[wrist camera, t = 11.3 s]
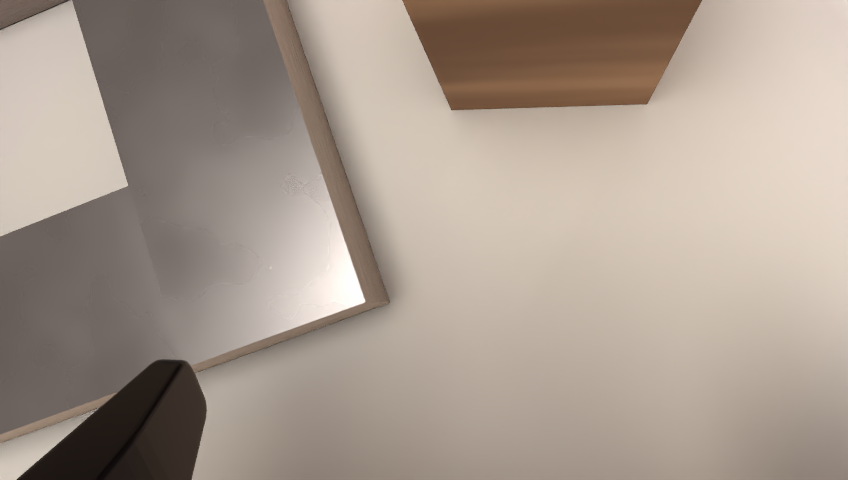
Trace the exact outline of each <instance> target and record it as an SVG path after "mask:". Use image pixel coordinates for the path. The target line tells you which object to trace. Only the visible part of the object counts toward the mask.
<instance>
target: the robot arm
mask: <svg viewBox="0 0 848 480" xmlns="http://www.w3.org/2000/svg"><path fill="white" fill-rule="evenodd" d="M206 412H207V408H206V400H205V397H204V395H203V392H202V390H201V387H200V385H199V383H198V380H197V378H196V375H195V373H194V370H193V368H192V366H191V364H189V363H188V362H187V361H185V360H171V359H160V360H156V361H154V362H153V363H151V364H150V365H149V366H148V367H146V368H145V369H144V370H143V371H142V372H141V373H139V374H138V375H137V376H136V377H135V378H134V379H132V380H131V381H130V382H129V383H128V384H127V385H126V386H124V387H123V388H122V389H121V390H120V391H119V392H117V393H116V394H115V395H114V396H113V397H112V398H110V399H109V400H108V401H107V402H106V403H105V404H103V405H102V406H101V407H100V408H99V409H98V410H97V411H95V412H94V413H93V414H92V415H91V416H90V417H88V418H87V419H86V420H85V421H84V422H83V423H81V424H80V425H79V426H78V427H77V428H76V429H75V430H73V431H72V432H71V433H70V434H69V435H68V436H66V437H65V438H64V439H63V440H62V441H61V442H59V443H58V444H57V445H56V446H55V447H54V448H53V449H51V450H50V451H49V452H48V453H47V454H46V455H44V456H43V457H42V458H41V459H40V460H39V461H37V462H36V463H35V464H34V465H33V466H32V467H31V468H29V469H28V470H27V471H26V472H25V473H24V474H22V475H21V476H20V477H19V478H18V479H17V480H192V475H193V471H194V467H195V462H196V458H197V454H198V449H199V445H200V441H201V437H202V432H203V428H204V424H205V419H206Z"/></svg>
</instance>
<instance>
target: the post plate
mask: <svg viewBox="0 0 848 480" xmlns="http://www.w3.org/2000/svg"><path fill="white" fill-rule="evenodd" d="M65 1H67V0H0V29H1V28H4V27H6V26H8V25H11V24H13V23H15V22H18V21H20V20H22V19H25V18H27V17H29V16H32V15H34V14H36V13H39V12H41V11H43V10H46V9H48V8H50V7H53V6H55V5H57V4H60V3H62V2H65ZM72 1H73V4H74V7H75V11H76V14H77V17H78V21H79V24H80V27H81V31H82V34H83V37H84V40H85V44H86V47H87V50H88V54H89V57H90V60H91V64H92V67H93V70H94V73H95V77H96V80H97V83H98V87H99V90H100V93H101V96H102V100H103V103H104V106H105V110H106V113H107V116H108V120H109V123H110V126H111V129H112V133H113V136H114V139H115V143H116V146H117V149H118V153H119V156H120V159H121V162H122V166H123V169H124V172H125V176H126V179H127V182H128V185H129V186H127V187H125V188H122V189H120V190H117V191H115V192H112V193H110V194H107V195H105V196H102V197H99V198H97V199H94V200H92V201H89V202H87V203H84V204H82V205H79V206H77V207H74V208H72V209H69V210H67V211H64V212H61V213H59V214H56V215H54V216H51V217H49V218H46V219H44V220H41V221H39V222H36V223H34V224H31V225H29V226H26V227H23V228H21V229H18V230H16V231H13V232H11V233H8V234H6V235H3V236H1V237H0V443H2V442H5V441H8V440H11V439H13V438H16V437H19V436H22V435H25V434H27V433H30V432H33V431H36V430H38V429H41V428H44V427H47V426H49V425H52V424H55V423H58V422H60V421H63V420H66V419H69V418H72V417H74V416H77V415H80V414H83V413H85V412H88V411H91V410H94V409H96V408H99V407H101V406H102V405H103V404H105V403H106V402H107V401H108V400H109V399H110V398H112V397H113V396H114V395H115V394H116V393H117V392H119V391H120V390H121V389H122V388H123V387H124V386H126V385H127V384H128V383H129V382H130V381H131V380H132V379H134V378H135V377H136V376H137V375H138V374H139V373H141V372H142V371H143V370H144V369H145V368H146V367H148V366H149V365H150V364H151V363H153V362H154V361H156V360H160V359H171V360H185V361H187V362H188V363H189V364H191V366H192V368H193V370H194V373H196V372H199V371H202V370H204V369H207V368H210V367H213V366H216V365H218V364H221V363H224V362H227V361H229V360H232V359H235V358H238V357H240V356H243V355H246V354H249V353H252V352H254V351H257V350H260V349H263V348H265V347H268V346H271V345H274V344H276V343H279V342H282V341H285V340H288V339H290V338H293V337H296V336H299V335H301V334H304V333H307V332H310V331H312V330H315V329H318V328H321V327H324V326H326V325H329V324H332V323H335V322H337V321H340V320H343V319H346V318H348V317H351V316H354V315H357V314H360V313H362V312H365V311H368V310H371V309H373V308H376V307H379V306H382V305H384V304H387V303H390V302H389V300H388V297H387V294H386V291H385V288H384V285H383V282H382V279H381V276H380V273H379V270H378V267H377V265H376V262H375V259H374V256H373V253H372V250H371V247H370V244H369V241H368V238H367V235H366V232H365V230H364V227H363V224H362V221H361V218H360V215H359V212H358V209H357V206H356V203H355V200H354V197H353V195H352V192H351V189H350V186H349V183H348V180H347V177H346V174H345V171H344V168H343V165H342V162H341V160H340V157H339V154H338V151H337V148H336V145H335V142H334V139H333V136H332V133H331V130H330V127H329V125H328V122H327V119H326V116H325V113H324V110H323V107H322V104H321V101H320V98H319V95H318V92H317V90H316V87H315V84H314V81H313V78H312V75H311V72H310V69H309V66H308V63H307V60H306V57H305V55H304V52H303V49H302V46H301V43H300V40H299V37H298V34H297V31H296V28H295V25H294V22H293V20H292V17H291V14H290V11H289V8H288V5H287V2H286V0H72Z"/></svg>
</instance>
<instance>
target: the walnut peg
mask: <svg viewBox="0 0 848 480" xmlns="http://www.w3.org/2000/svg"><path fill="white" fill-rule="evenodd" d="M402 1H403V3H404V5H405V7H406V10H407V12H408V14H409V16H410V19H411V21H412V23H413V25H414V27H415V30H416V32H417V34H418V36H419V39H420V41H421V43H422V45H423V47H424V50H425V52H426V54H427V56H428V59H429V61H430V63H431V65H432V68H433V70H434V72H435V74H436V76H437V79H438V81H439V83H440V85H441V88H442V90H443V92H444V94H445V97H446V99H447V101H448V103H449V105H450V108H451V110H464V109H497V108H530V107H563V106H595V105H628V104H647V103H648V101H649V99H650V97H651V95H652V93H653V92H654V90H655V88H656V86H657V84H658V82H659V80H660V78H661V76H662V75H663V73H664V71H665V69H666V67H667V65H668V63H669V61H670V60H671V58H672V56H673V54H674V52H675V50H676V48H677V46H678V44H679V43H680V41H681V39H682V37H683V35H684V33H685V31H686V29H687V27H688V26H689V24H690V22H691V20H692V18H693V16H694V14H695V12H696V11H697V9H698V7H699V5H700V3H701V1H702V0H402Z"/></svg>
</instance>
